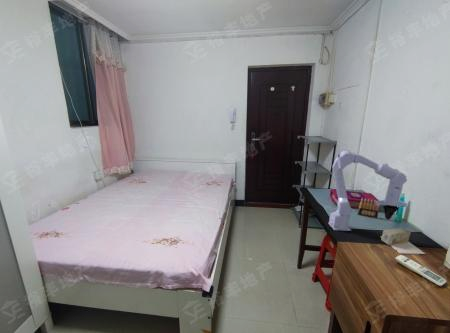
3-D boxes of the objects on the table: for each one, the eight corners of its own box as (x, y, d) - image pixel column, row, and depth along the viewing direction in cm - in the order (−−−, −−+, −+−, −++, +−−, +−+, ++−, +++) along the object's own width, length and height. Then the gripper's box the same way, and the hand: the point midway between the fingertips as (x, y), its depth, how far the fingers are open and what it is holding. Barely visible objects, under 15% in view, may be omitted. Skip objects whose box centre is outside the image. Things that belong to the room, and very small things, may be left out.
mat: (400, 253, 101) (400, 252, 101) (380, 237, 115) (380, 236, 115) (425, 254, 101) (425, 253, 101) (401, 237, 115) (402, 236, 114)
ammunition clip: (357, 214, 140) (361, 197, 137) (357, 213, 142) (360, 196, 139) (377, 218, 136) (381, 200, 133) (376, 217, 138) (380, 199, 135)
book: (329, 196, 172) (330, 187, 170) (368, 201, 165) (370, 191, 163) (334, 206, 152) (336, 196, 151) (380, 212, 145) (382, 202, 144)
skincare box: (391, 234, 105) (411, 231, 108) (383, 229, 109) (402, 227, 112) (388, 245, 107) (408, 242, 109) (380, 240, 111) (399, 237, 113)
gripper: (401, 192, 114) (395, 215, 117) (374, 190, 114) (368, 214, 118) (412, 197, 107) (406, 221, 111) (383, 195, 108) (377, 220, 111)
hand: (387, 218), depth 114 cm, fingers closed
